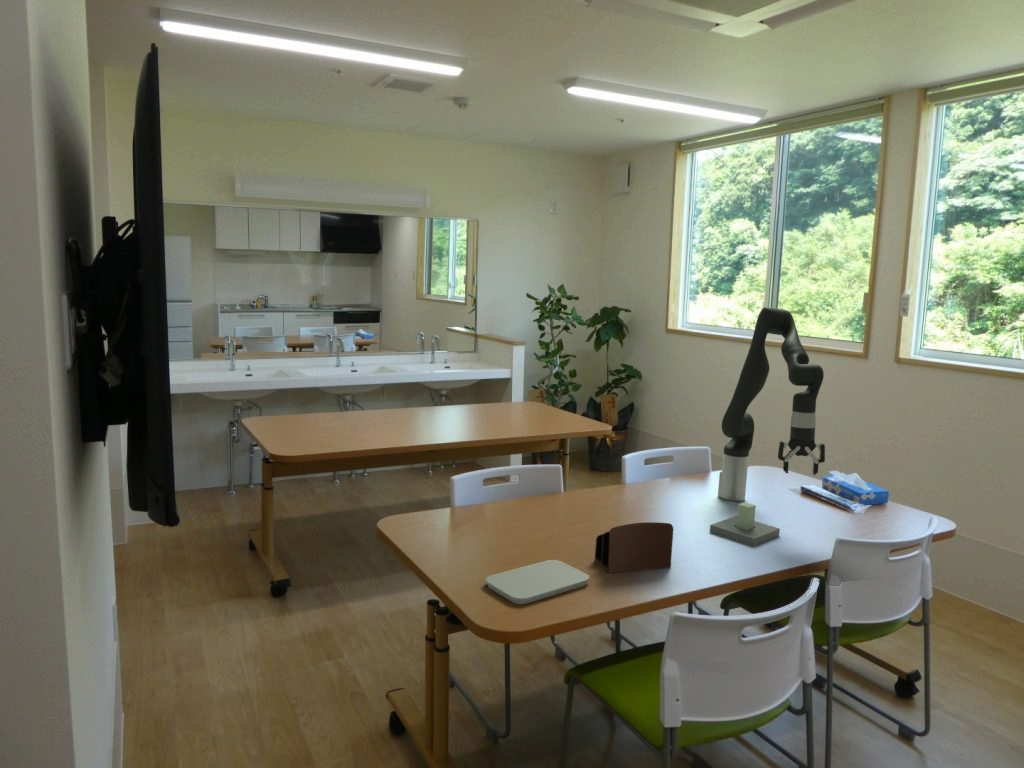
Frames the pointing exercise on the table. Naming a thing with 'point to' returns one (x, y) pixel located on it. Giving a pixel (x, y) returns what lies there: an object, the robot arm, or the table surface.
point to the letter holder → (635, 547)
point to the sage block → (745, 516)
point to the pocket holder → (744, 531)
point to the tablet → (536, 581)
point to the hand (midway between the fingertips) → (800, 473)
